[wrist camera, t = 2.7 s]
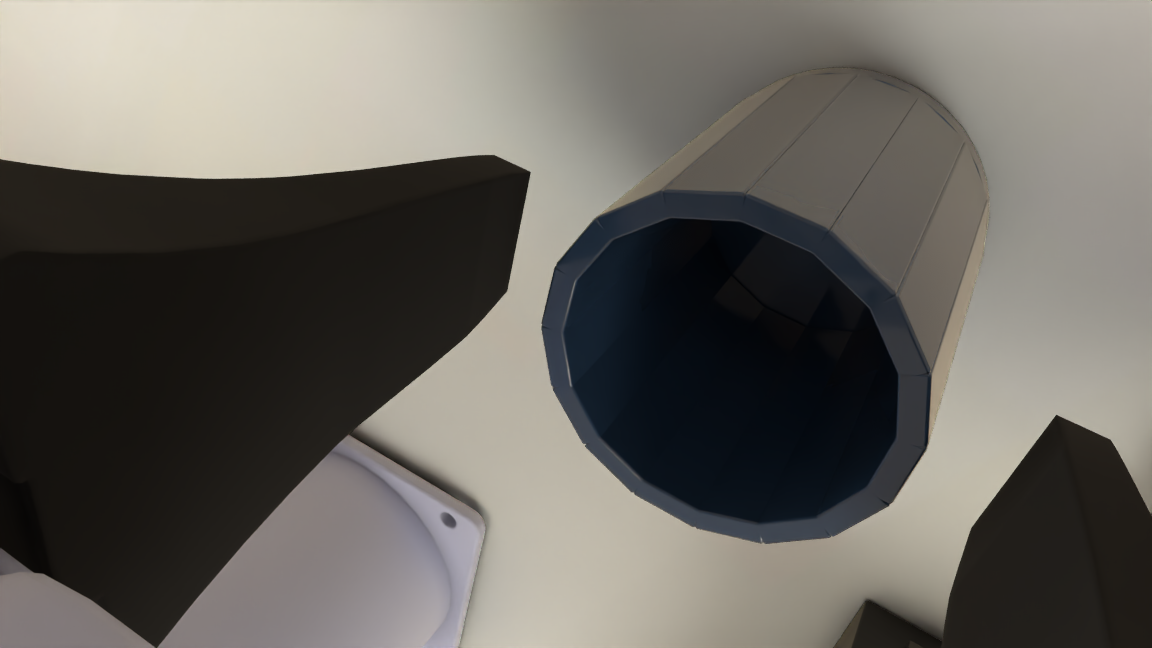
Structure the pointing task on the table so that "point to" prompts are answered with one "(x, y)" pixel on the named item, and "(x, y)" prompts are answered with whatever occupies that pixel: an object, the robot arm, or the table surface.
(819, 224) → the cup
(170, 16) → the table surface
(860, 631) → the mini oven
